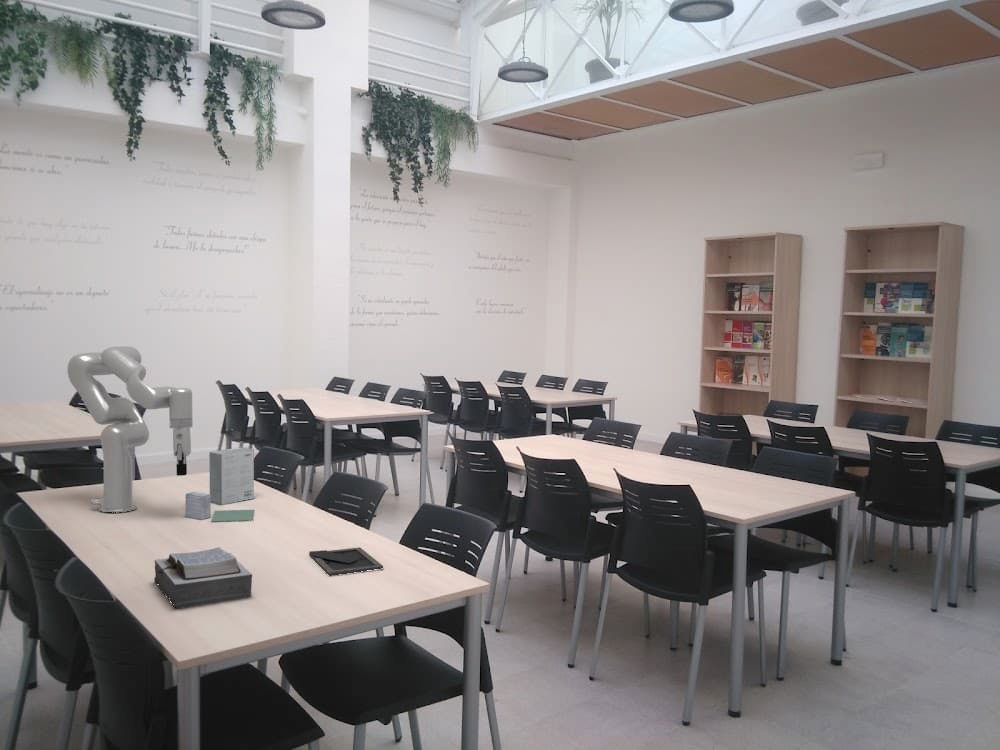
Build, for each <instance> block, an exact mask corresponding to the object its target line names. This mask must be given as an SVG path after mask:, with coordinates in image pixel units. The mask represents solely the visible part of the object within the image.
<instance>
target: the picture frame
mask: <svg viewBox="0 0 1000 750" xmlns="http://www.w3.org/2000/svg"><path fill="white" fill-rule="evenodd" d="M309 556H310V557H311V558H312V559H313V560H314V561H315V562H316V563H317V564H318V565H319V566H320V567H321V568H322V569H323V570H324V571H325V572H326V573H325V572H324V571H323V570H322V569H321V568H320V567H319V566H318V565H317V564H316V563H315V562H314V561H313V560H312V559H311V558H310V557H309ZM308 557H309V558H310V559H311V560H312V561H313V562H314V563H315V564H316V565H317V566H318V567H319V568H320V569H321V570H322V571H323V572H324V573H325V574H326V575H327V574H328V575H329V576H328V575H327V576H328V577H333V576H332V575H337V576H340V575H339V574H345V575H348V574H347V573H353V574H355V573H354V572H361V571H367V570H374V569H381V568H383V569H384V565H383V564H381V563H380V562H379V561H378V560H377V559H375V558H374V557H373V556H371V555H370V554H369V553H368V552H367V551H365V550H364V549H363V548H361V546H360V547H351V548H349V547H348V548H343V549H340V548H339V549H331V550H325V549H324V550H312V551H308ZM361 573H362V572H361Z"/></svg>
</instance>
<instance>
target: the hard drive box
mask: <svg viewBox="0 0 1000 750" xmlns="http://www.w3.org/2000/svg"><path fill="white" fill-rule="evenodd" d="M208 456H209V459H208V460H209V461H208V464H209V465H208V466H209V494H211V504H214V503H215V505H220V506H223V504H224V505H228V503H230V504H234V503H238V501H239V502H243V500H245V501H249V500H253V498H254V499H255V482H254V481H255V470H254V469H255V461H254V460H255V450H254V449H253V448H248V447H236V448H229V449H228V448H226V449H222V450H215V451H209V455H208ZM248 499H249V500H248ZM233 502H234V503H233Z"/></svg>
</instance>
